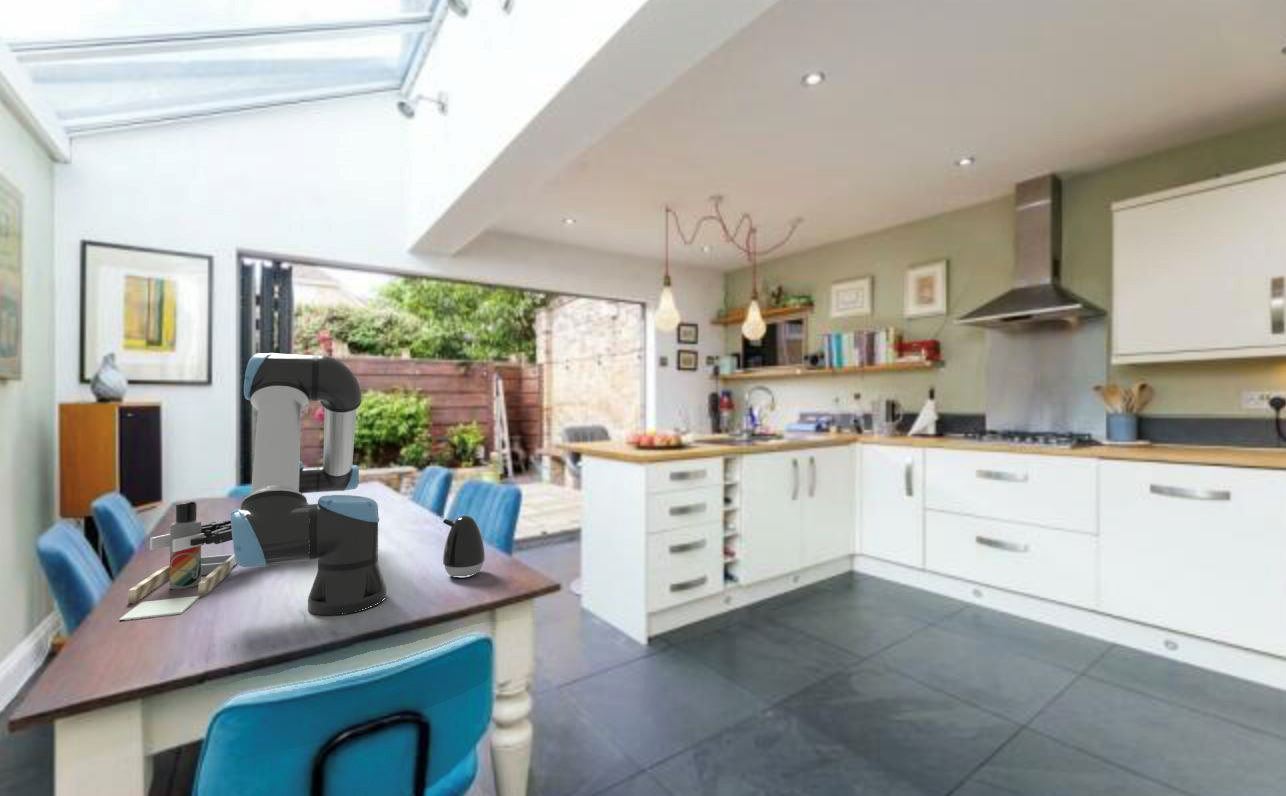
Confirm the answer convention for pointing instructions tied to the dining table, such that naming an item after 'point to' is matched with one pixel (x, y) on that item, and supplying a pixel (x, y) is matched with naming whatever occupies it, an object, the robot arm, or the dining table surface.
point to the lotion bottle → (189, 560)
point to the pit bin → (215, 562)
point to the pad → (160, 608)
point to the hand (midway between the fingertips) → (162, 544)
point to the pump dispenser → (463, 547)
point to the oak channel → (164, 575)
